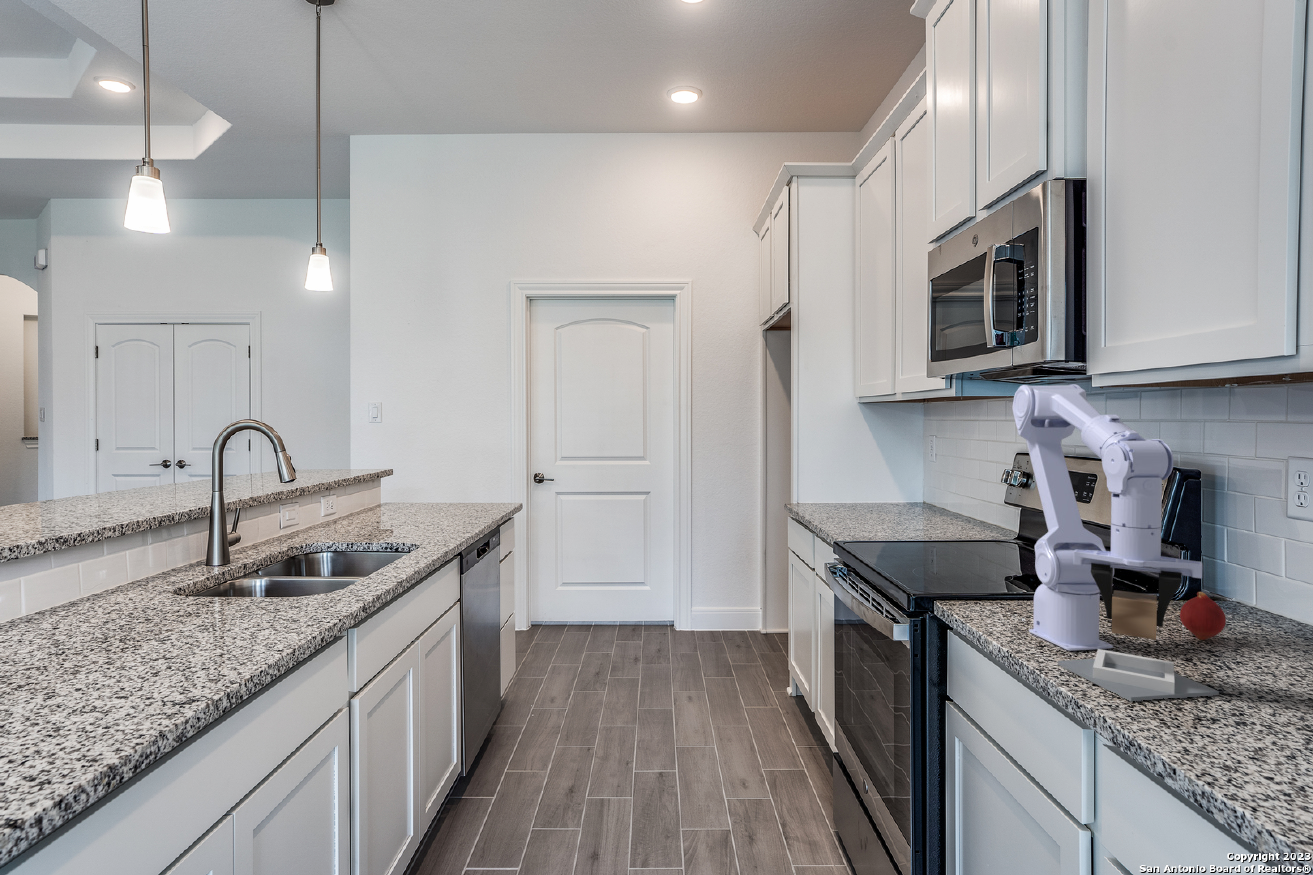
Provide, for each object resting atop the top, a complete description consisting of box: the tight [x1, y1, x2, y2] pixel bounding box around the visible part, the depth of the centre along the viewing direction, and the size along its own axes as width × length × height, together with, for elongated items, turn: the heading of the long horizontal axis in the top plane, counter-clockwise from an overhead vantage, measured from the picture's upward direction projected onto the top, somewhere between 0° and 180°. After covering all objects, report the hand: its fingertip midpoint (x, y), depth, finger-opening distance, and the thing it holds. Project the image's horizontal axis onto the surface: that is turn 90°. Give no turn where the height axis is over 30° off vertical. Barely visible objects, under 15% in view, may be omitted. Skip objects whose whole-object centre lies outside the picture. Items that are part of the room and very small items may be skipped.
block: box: [1111, 589, 1158, 641], centre depth 93 cm, size 5×5×5 cm
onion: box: [1179, 591, 1227, 641], centre depth 109 cm, size 6×6×8 cm
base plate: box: [1057, 649, 1220, 703], centre depth 93 cm, size 13×13×2 cm
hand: (1134, 620), depth 93 cm, fingers closed on block, 5 cm apart
